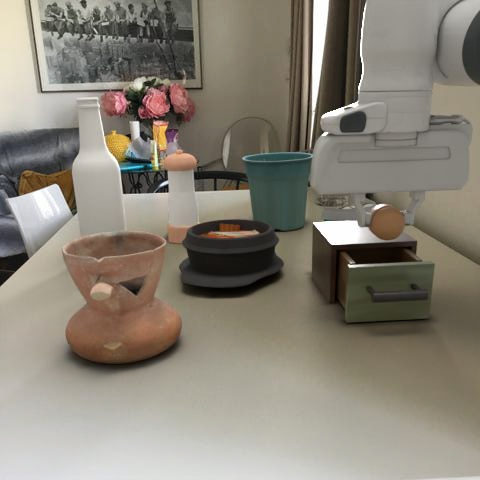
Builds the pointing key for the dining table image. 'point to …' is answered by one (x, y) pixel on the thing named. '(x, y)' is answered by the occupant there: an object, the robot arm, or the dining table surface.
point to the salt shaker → (181, 195)
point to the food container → (345, 212)
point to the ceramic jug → (119, 297)
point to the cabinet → (339, 238)
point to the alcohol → (96, 175)
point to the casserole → (229, 253)
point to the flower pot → (279, 188)
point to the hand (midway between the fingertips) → (385, 225)
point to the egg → (386, 222)
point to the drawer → (383, 284)
